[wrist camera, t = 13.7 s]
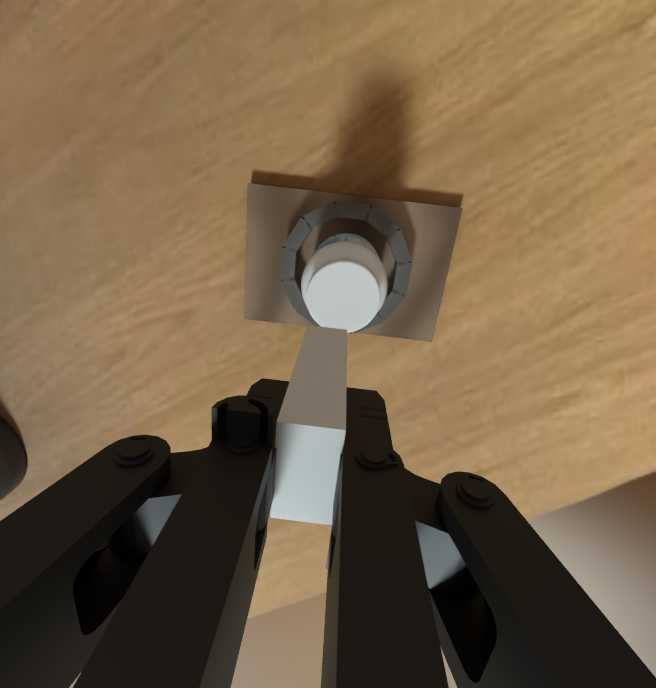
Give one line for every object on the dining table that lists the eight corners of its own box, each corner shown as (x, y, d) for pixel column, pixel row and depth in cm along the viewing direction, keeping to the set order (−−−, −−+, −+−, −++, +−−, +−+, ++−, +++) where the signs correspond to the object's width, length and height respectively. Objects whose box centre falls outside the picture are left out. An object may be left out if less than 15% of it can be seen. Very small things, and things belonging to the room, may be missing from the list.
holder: (247, 315, 37) (238, 325, 34) (250, 183, 32) (241, 182, 29) (430, 338, 36) (436, 349, 33) (459, 207, 32) (469, 208, 29)
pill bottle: (318, 304, 35) (302, 350, 24) (307, 237, 33) (285, 255, 22) (383, 296, 34) (396, 339, 24) (376, 227, 32) (387, 241, 21)
